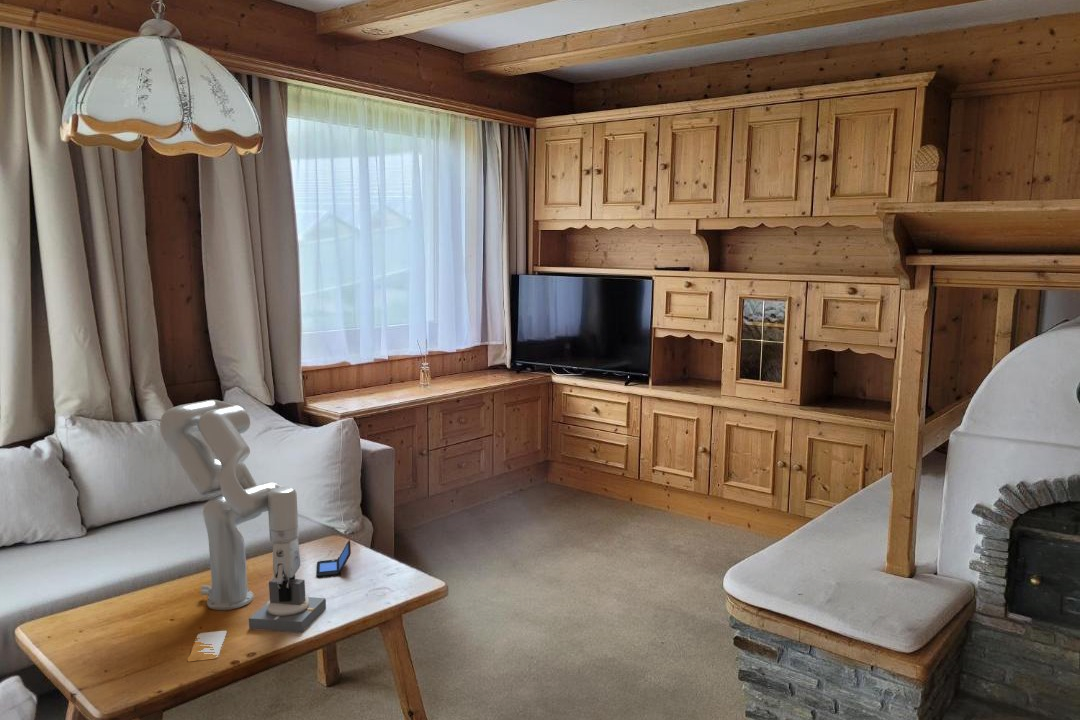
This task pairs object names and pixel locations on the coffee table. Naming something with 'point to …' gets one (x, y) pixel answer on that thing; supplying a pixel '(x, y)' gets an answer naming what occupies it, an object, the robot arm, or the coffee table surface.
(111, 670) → the coffee table surface
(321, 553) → the coffee table surface
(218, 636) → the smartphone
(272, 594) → the dial
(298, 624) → the control plate
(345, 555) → the handheld game console
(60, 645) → the coffee table surface
